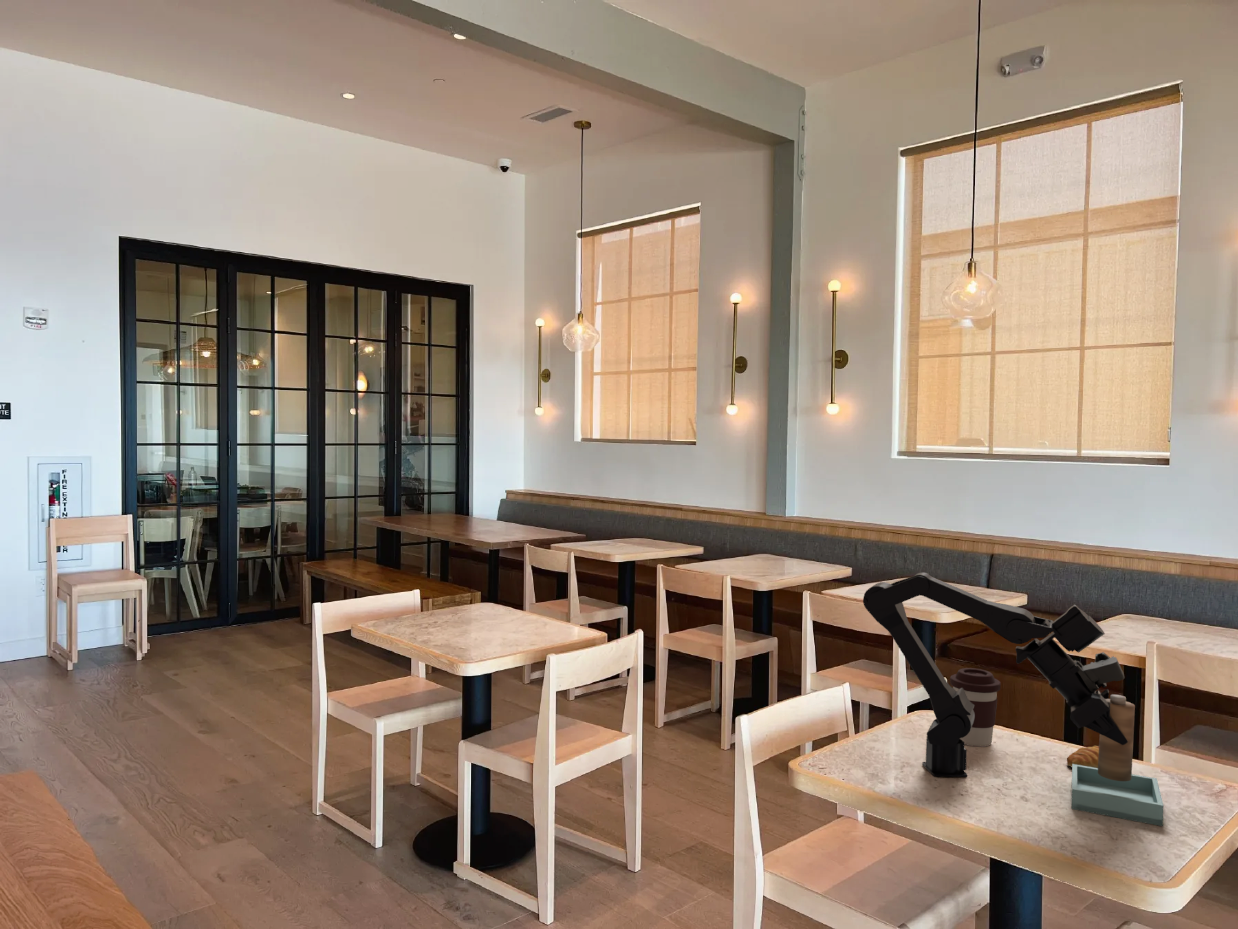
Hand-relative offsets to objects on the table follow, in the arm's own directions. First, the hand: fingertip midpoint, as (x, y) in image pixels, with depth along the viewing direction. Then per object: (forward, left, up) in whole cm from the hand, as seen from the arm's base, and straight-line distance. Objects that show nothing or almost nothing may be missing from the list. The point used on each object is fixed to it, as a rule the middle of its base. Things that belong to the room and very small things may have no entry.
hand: (1125, 738), depth 153 cm
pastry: (+5, +18, -12) cm, 23 cm away
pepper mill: (-1, +1, -7) cm, 7 cm away
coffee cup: (-13, +32, -12) cm, 36 cm away
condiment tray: (-1, +1, -12) cm, 12 cm away
